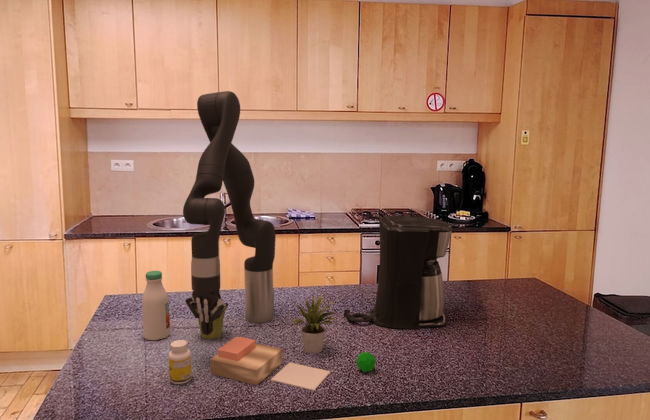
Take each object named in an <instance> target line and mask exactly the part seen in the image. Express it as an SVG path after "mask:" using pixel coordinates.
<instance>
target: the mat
mask: <svg viewBox="0 0 650 420" xmlns="http://www.w3.org/2000/svg"><path fill="white" fill-rule="evenodd" d="M330 374H331V371H329V370H326V369H321V368H316V367H311V366H308V365H303V364H298V363H293V362H288V363H287V364H286V365H285V366H284V367H283V368H282V369H281V370H279V372H277V373H276V374H275V375H274V376H273V377H272V378H271V379H270V381H272V382H275V383H276V382H277V383H280V384H285V385H288V386H291V387H297V388H301V389H305V390H309V391H315V390H316V389H318V387H319V386H320V385H321V384H322V383H323V382H324V380H325V379H326V378H327V377H328V376H329V375H330Z"/></svg>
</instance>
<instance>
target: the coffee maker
mask: <svg viewBox="0 0 650 420" xmlns="http://www.w3.org/2000/svg"><path fill="white" fill-rule="evenodd" d="M378 224H379V229H378V231H379V272H378V280H377V289H376V298H375V305H374V307H373V309H370V311H369V314H366V313H360V312H359V313H357V312H356V313H352V314H351V311H350V310H351V309H347V308H345V309H344V311H343V317H344V318H346V319H347V320H348V321H350V322H353V323H369V322H373V323H374V325H376V326H380V327H386V328H391V329H401V330H402V329H403V330H404V329H405V330H406V329H408V330H410V329H411V330H416V329H417V330H418V329H419V328H434V327H435V328H436V327H442V326H444V325H445V324H446V320H447V319H446V316H445V314H444V304H445V303H444V302H445V295H444V280H443V272H442V271H441V270H442V269H441V266H440V263H439V261H438V259H439V258H443V257H445V256H446V255H447V251H448V249H449V248H448V247H449V244H450V240H451V236H452V229H453V227H454V225H452V224H450V223H448V222H446V221H444V220H440V219H437V218H431V217H423V216H408V215H405V216H404V215H390V216H383V217H380V218H379V221H378ZM356 317H362V318H356Z"/></svg>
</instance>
